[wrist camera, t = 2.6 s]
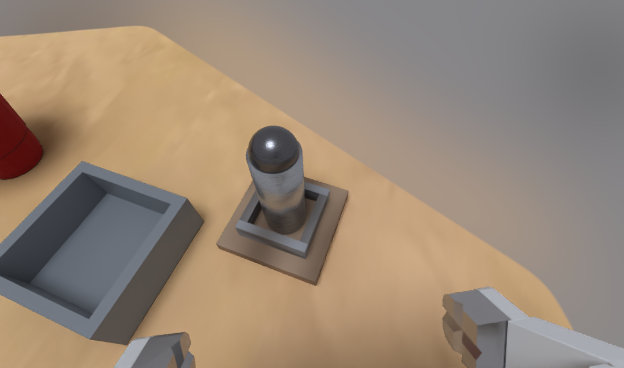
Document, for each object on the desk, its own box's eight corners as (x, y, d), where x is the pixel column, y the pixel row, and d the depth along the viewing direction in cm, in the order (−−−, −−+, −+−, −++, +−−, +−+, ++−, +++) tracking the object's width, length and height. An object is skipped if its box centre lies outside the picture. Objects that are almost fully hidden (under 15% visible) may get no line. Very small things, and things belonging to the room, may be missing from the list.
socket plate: (347, 196, 32) (350, 181, 30) (315, 285, 27) (315, 276, 25) (263, 170, 34) (259, 153, 32) (219, 248, 29) (210, 236, 27)
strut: (311, 205, 30) (310, 121, 20) (296, 240, 28) (286, 166, 18) (275, 193, 31) (256, 106, 21) (258, 226, 29) (228, 148, 19)
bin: (203, 221, 31) (187, 198, 27) (126, 344, 25) (89, 339, 21) (110, 187, 33) (81, 161, 29) (19, 292, 27) (-34, 277, 23)
